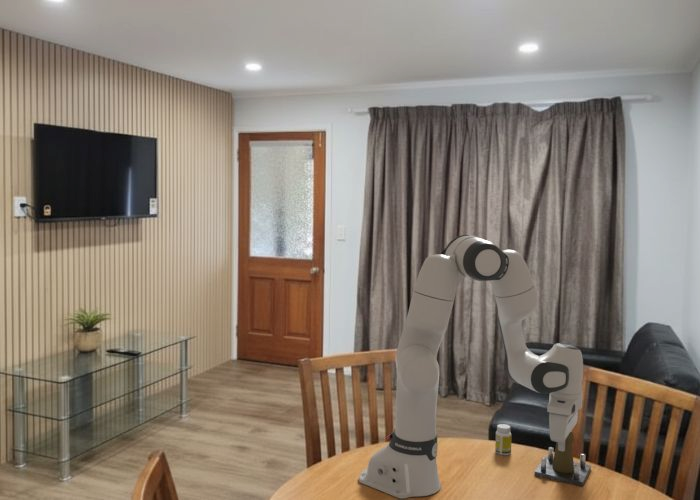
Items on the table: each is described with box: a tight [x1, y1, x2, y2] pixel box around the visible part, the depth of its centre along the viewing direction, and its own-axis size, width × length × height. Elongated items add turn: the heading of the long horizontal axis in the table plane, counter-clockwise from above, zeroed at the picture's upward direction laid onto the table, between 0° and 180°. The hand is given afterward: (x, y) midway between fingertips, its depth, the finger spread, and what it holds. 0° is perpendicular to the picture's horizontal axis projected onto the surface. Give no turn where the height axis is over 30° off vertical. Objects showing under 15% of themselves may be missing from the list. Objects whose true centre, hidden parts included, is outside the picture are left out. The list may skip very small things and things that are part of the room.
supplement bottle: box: [495, 423, 512, 456], centre depth 191 cm, size 5×5×8 cm
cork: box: [552, 431, 575, 473], centre depth 177 cm, size 6×6×11 cm
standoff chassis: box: [533, 446, 592, 487], centre depth 177 cm, size 13×13×5 cm
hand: (563, 447), depth 177 cm, fingers closed on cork, 4 cm apart
